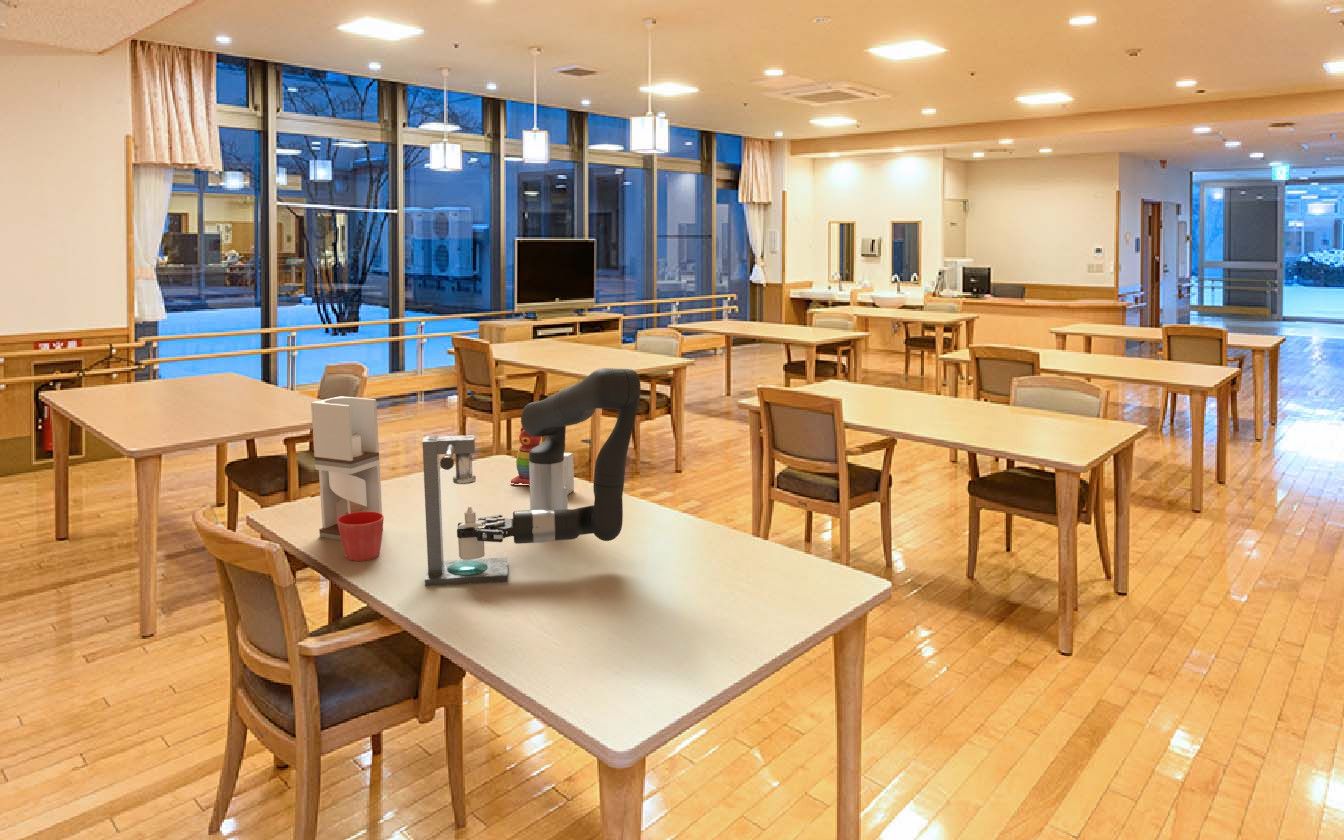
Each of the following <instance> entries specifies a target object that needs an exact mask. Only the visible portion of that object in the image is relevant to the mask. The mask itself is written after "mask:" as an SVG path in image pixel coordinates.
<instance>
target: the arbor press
mask: <svg viewBox="0 0 1344 840" xmlns="http://www.w3.org/2000/svg"><path fill="white" fill-rule="evenodd" d="M421 442H422V461H423V464H422V465H423V483H424V505H425V507H424V508H425V531H426V532H425V533H426V534H425V535H426V552H427V568H426V573H425V577H424V586H425V587H428V586H429V587H430V585H435V586H448V585H447V584H450V585H451V584H452V586H453V584H454V585H469V583H472V584H484V583H485V584H487V583H489V582H491V583H504V582H505V583H507V582H508V580H509V576H508V575H509V574H508V573H509V572H508V569H509V568H508V557H496V558H495V557H493V558H477V559H469V560H463V559H454V560H453V559H452V560H449V559H448V560H444V541H443V540H444V539H443V537H444V536H443V515H442V514H443V513H442V490H441V489H442V488H441V487H442V485H441V469H443V470H446V471H449V470H451V469H452V468H453V467H454V464H455V475H454V476H452V483H453V484H455V485H469V484H474V483H476V481H477V478H476V475H475V474H473V454H475V453H476V452H475V451H476V436H475V434H473V435H472V434H471V435H467V434H466V435H424V437H423V439H422V441H421ZM454 454H455V455H454ZM440 455H444V456H443V457H441V458H440ZM453 457H455V461H454V459H453ZM467 583H468V584H467ZM489 584H490V583H489ZM450 585H449V586H450Z"/></svg>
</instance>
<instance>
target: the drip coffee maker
mask: <svg viewBox="0 0 1344 840" xmlns="http://www.w3.org/2000/svg"><path fill="white" fill-rule="evenodd" d="M310 408H311V409H310V410H311V424H312V438H313V439H312V440H313V453H314V454H313V455H314V467H315V468H314V469H315V470H317V471H318V477H319V479H318V480H319V481H318V482H319V491H320V493H319V496H320V508H321V509H320V510H321V524H322V525H321V526H322V527H321V528H319V530H318V531H319V537H320V538H324V537H325V538H326V539H330V538H331V539H332V540H336V541H337V540H338V541H342V540H341V536H340V532H339V528H338V524H337V519H338V518H339V517H341V516H343V515H346V514H349V513H354V512H364V511H370V512H378V513H381V514H382V515H383V503H382V502H383V501H382V486H381V484H382V483H381V465H380V464H381V463H380V447H379V446H380V445H379V430H378V410H377V399H375V398H367V397H366V398H364V397H353V396H342V395H339V396H335V397H330V398H326V399H322V400H317V401H313V402H310ZM383 531H384V529H383V530H382V532H383ZM325 538H324V539H325Z"/></svg>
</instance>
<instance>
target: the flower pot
mask: <svg viewBox="0 0 1344 840" xmlns="http://www.w3.org/2000/svg"><path fill="white" fill-rule="evenodd" d="M384 518H385V516H384V515H383V513H382V514H381V513H378V512H370V511H364V512H354V513H349V514H346V515H343V516H341V517H339V518H338V519H337V524H338V528H339V532H340V536H341V540H340V541H341V543H342V547H343V552H344V554H345V558H346V559H347V560H349V561H353V562H363V561H369V560H373V559H376V558H378V557H379V555H380V554H381V553H380V552H381V546H382V541H383V540H382V538H383V531H384ZM382 530H383V531H382ZM377 556H378V557H377Z"/></svg>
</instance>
